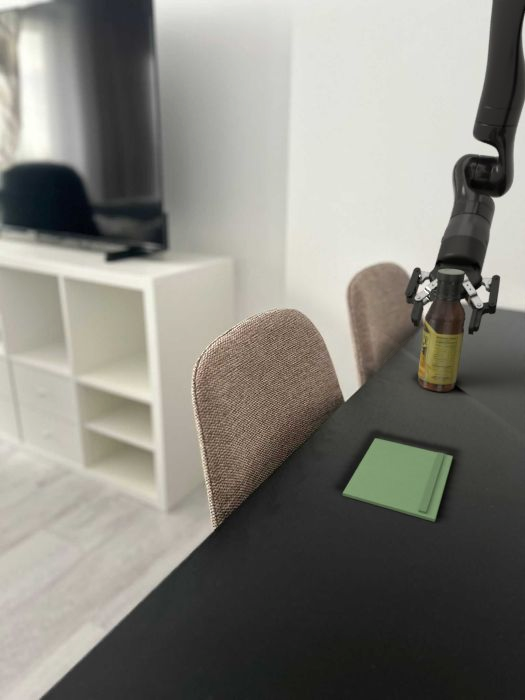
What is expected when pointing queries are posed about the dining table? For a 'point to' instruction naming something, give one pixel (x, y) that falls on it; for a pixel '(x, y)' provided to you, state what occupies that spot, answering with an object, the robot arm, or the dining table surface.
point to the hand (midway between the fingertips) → (442, 328)
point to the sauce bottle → (443, 334)
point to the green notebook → (401, 479)
